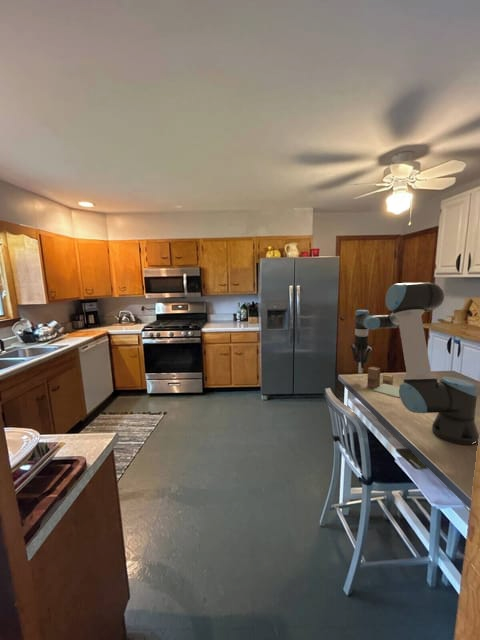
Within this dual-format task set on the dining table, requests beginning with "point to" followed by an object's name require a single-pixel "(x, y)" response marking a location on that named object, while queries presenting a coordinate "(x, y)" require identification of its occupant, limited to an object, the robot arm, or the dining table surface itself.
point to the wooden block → (373, 377)
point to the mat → (388, 390)
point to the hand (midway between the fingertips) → (360, 372)
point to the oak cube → (387, 378)
